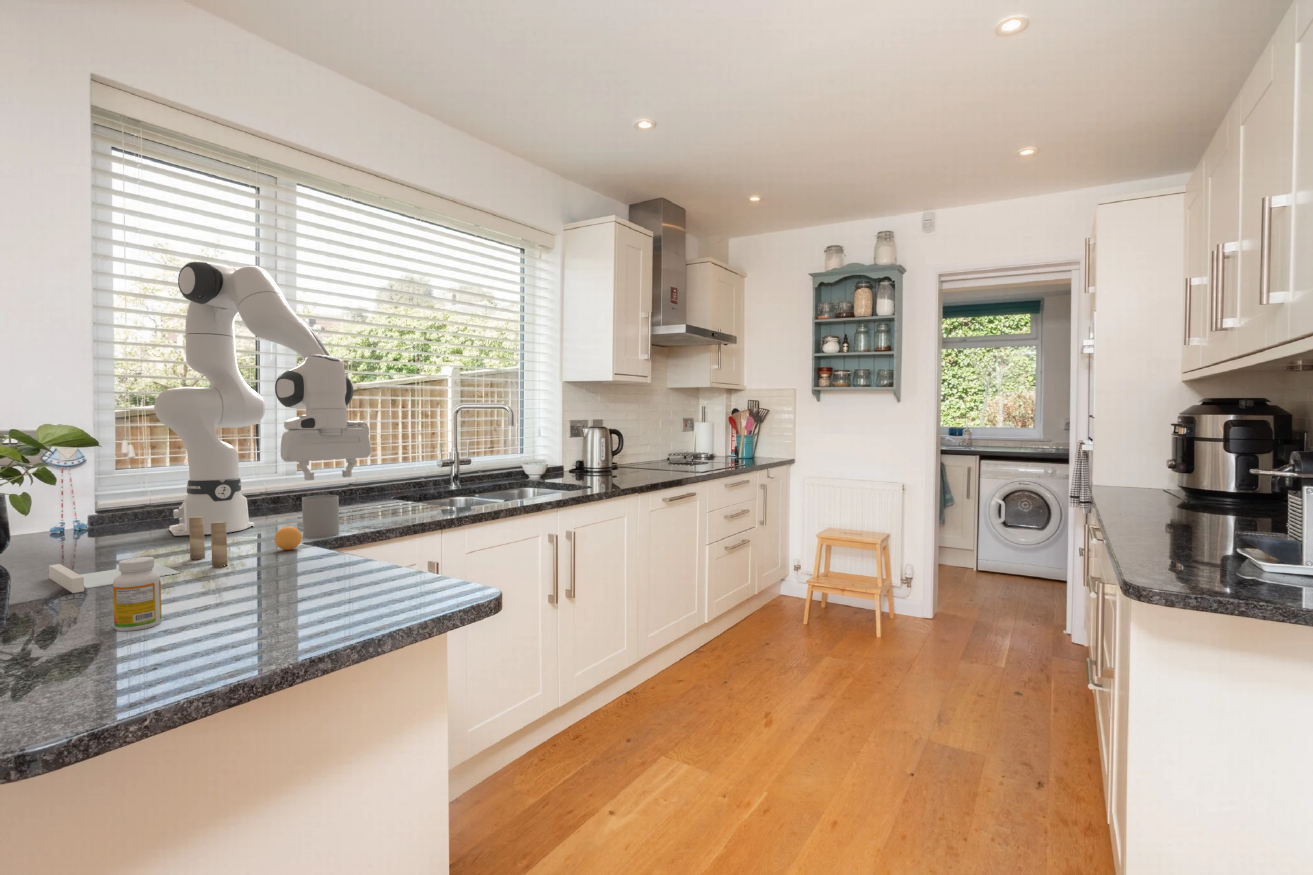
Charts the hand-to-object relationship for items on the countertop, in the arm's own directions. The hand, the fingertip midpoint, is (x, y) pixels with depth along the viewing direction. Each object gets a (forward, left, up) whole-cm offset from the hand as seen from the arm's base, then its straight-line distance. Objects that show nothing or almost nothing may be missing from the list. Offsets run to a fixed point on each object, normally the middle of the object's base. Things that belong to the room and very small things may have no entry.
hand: (328, 478), depth 156 cm
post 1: (-6, -25, -16) cm, 31 cm away
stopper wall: (0, -48, -16) cm, 50 cm away
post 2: (+6, -25, -16) cm, 31 cm away
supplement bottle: (+41, -47, -16) cm, 65 cm away
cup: (-14, +5, -16) cm, 22 cm away
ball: (0, -9, -13) cm, 16 cm away
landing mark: (0, -39, -16) cm, 42 cm away
